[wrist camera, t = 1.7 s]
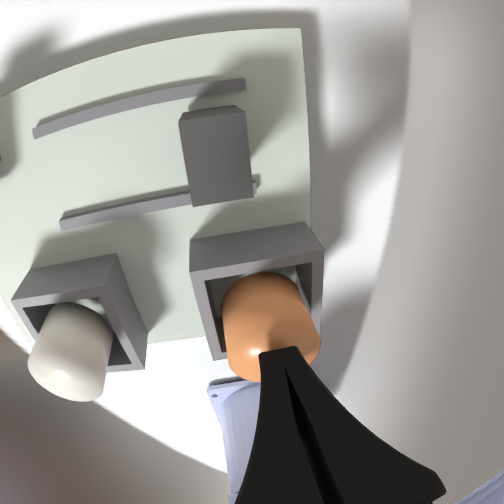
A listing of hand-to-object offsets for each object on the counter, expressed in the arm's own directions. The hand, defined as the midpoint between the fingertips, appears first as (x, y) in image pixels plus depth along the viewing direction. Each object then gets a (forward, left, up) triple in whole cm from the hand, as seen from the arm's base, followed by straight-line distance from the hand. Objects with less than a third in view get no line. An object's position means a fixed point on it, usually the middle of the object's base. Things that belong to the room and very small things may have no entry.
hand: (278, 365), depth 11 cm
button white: (0, +9, -4) cm, 10 cm away
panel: (+4, +6, -8) cm, 11 cm away
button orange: (0, 0, -4) cm, 4 cm away
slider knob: (+7, +1, -5) cm, 9 cm away
